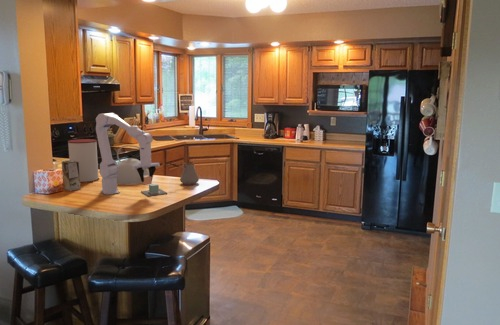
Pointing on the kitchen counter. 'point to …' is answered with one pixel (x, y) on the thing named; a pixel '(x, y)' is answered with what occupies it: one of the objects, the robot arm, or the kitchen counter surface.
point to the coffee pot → (188, 173)
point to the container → (85, 158)
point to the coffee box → (71, 175)
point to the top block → (147, 180)
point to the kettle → (129, 170)
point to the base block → (153, 188)
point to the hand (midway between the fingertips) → (146, 181)
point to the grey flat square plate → (153, 193)
